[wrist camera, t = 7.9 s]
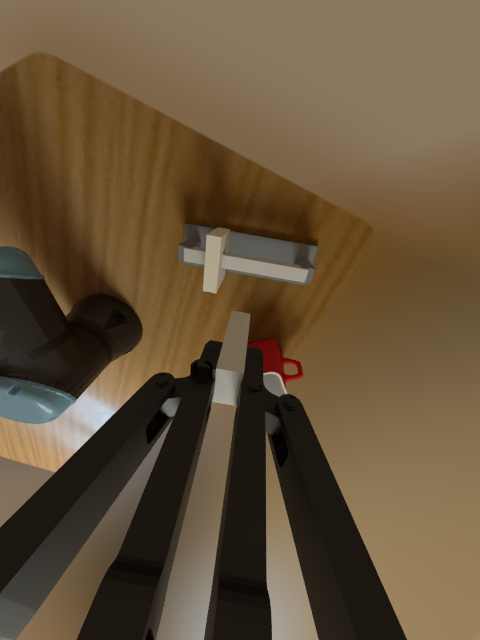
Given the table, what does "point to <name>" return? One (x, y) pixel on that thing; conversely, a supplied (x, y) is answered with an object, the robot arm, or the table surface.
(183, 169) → the table surface
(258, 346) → the mug
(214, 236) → the thick cream end plate
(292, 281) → the grey slide rail
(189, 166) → the table surface
